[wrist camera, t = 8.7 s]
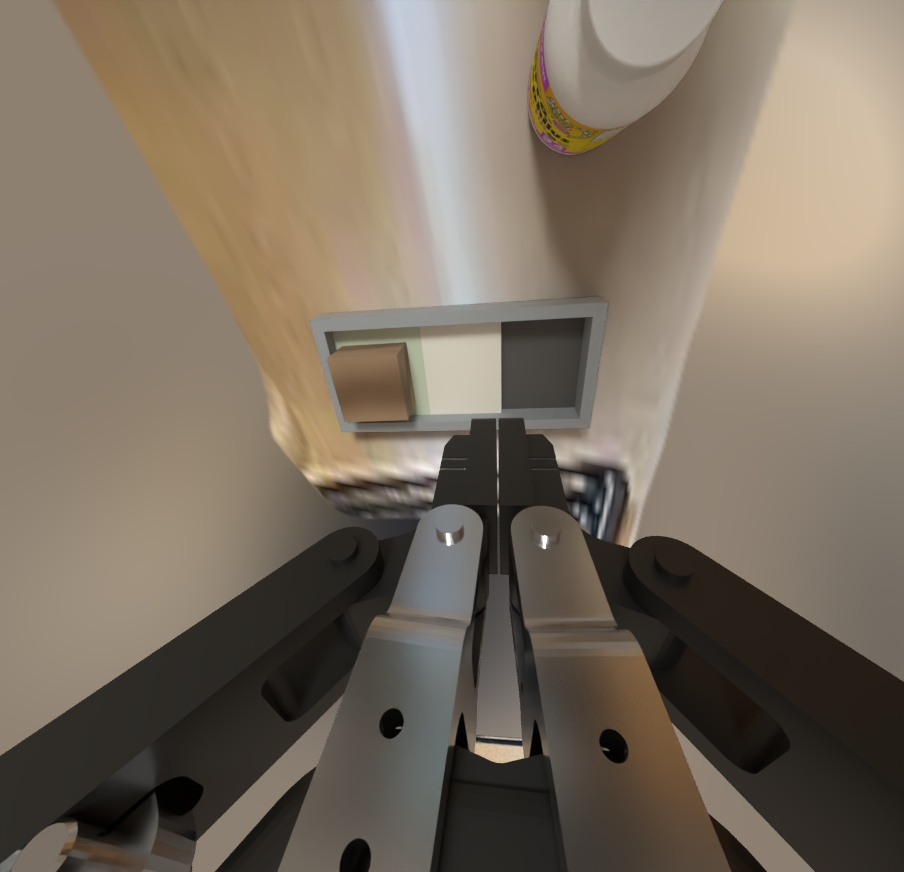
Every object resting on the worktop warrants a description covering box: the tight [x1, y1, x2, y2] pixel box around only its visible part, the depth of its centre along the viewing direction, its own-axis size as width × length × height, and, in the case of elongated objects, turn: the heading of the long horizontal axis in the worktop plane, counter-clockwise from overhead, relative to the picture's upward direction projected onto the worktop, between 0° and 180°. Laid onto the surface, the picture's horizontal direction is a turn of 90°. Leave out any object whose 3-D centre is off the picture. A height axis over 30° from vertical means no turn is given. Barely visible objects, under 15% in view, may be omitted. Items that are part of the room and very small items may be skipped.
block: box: [327, 342, 416, 422], centre depth 31 cm, size 6×6×4 cm
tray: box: [309, 296, 609, 432], centre depth 31 cm, size 11×24×2 cm, turn 94°
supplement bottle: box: [527, 0, 724, 155], centre depth 17 cm, size 7×7×13 cm
